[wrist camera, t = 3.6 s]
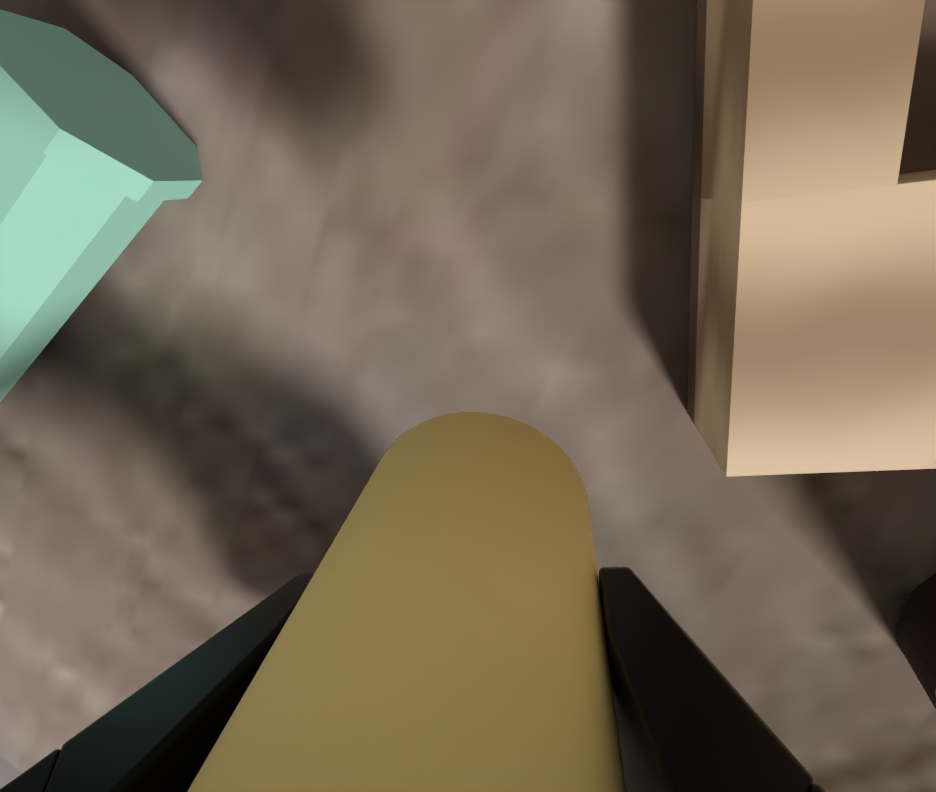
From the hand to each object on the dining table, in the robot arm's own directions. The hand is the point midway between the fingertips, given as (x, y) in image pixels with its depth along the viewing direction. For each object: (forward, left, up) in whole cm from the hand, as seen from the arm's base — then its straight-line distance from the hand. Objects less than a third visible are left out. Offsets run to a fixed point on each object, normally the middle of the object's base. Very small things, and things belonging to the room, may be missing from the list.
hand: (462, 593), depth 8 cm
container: (+2, +21, -13) cm, 25 cm away
